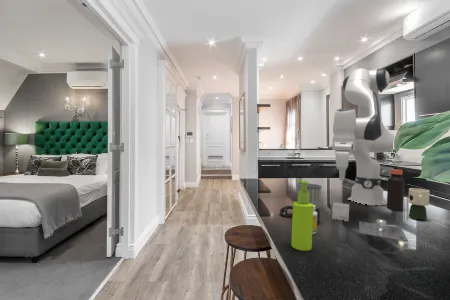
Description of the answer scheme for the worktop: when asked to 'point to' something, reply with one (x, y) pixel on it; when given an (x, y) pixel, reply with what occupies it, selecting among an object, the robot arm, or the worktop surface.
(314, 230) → the supplement bottle
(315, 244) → the worktop surface
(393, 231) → the plate
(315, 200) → the milk frother
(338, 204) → the chalk-like cube
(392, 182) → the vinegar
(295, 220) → the soap dispenser
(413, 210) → the character mug
